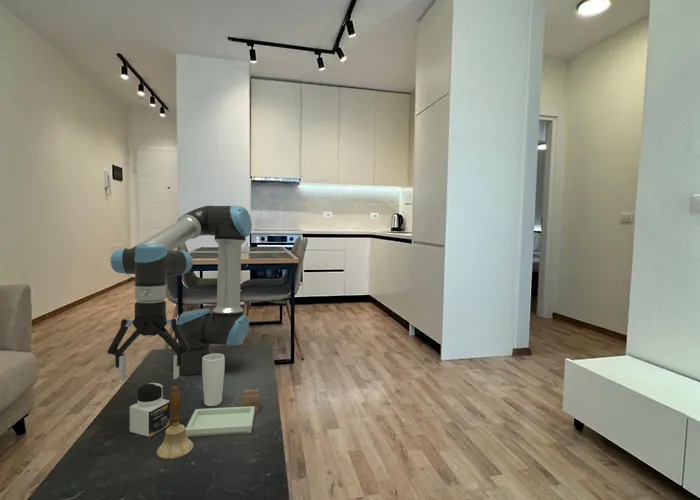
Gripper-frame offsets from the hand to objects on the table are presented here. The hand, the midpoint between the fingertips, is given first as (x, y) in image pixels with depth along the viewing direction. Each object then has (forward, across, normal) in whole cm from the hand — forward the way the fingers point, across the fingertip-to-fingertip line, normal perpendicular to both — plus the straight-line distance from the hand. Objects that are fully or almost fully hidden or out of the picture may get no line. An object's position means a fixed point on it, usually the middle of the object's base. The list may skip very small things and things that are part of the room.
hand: (149, 378), depth 103 cm
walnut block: (+14, +26, +9) cm, 31 cm away
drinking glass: (+14, +14, +14) cm, 25 cm away
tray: (+14, +19, 0) cm, 24 cm away
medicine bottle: (+14, 0, 0) cm, 14 cm away
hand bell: (+14, +10, -11) cm, 21 cm away
